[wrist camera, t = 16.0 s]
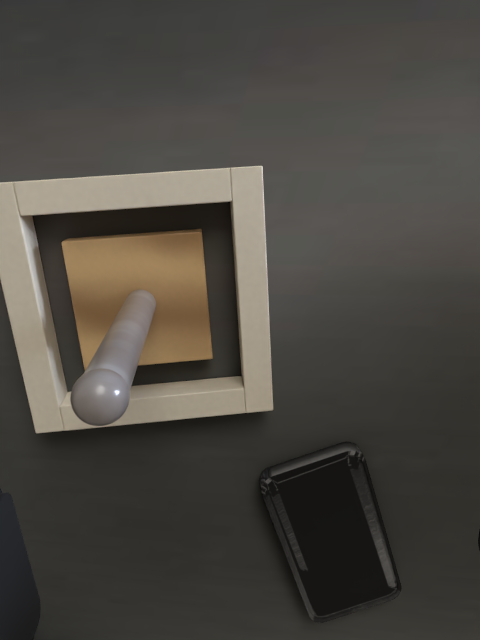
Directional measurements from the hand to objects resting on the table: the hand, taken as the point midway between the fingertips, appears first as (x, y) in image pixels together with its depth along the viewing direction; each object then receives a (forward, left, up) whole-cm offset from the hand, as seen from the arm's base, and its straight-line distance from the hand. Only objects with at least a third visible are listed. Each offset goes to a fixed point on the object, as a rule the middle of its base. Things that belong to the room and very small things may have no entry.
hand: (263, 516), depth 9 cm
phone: (+21, +7, -21) cm, 31 cm away
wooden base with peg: (+1, -5, -21) cm, 22 cm away
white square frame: (+1, -5, -21) cm, 22 cm away
